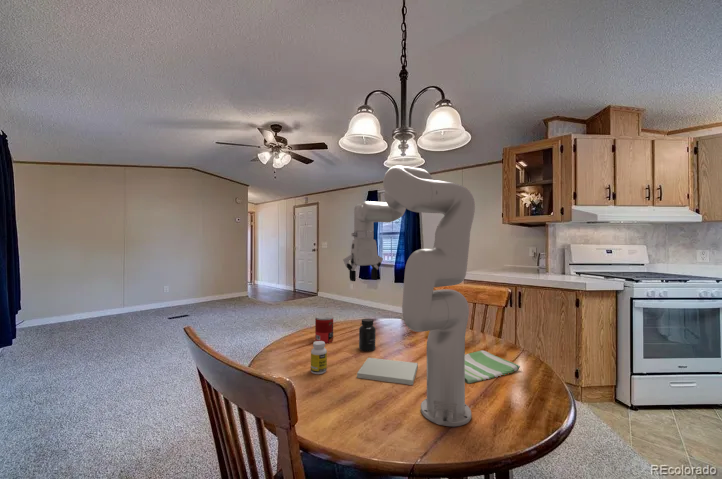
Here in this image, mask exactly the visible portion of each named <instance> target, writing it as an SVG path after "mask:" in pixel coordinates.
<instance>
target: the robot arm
mask: <svg viewBox="0 0 722 479" xmlns="http://www.w3.org/2000/svg"><path fill="white" fill-rule="evenodd" d="M382 186H383V188H384V194H383V196H384V201H385V202H384V201H371V200H370V201H369V200H366V201H362V202H361V203H358V204H356V205H354V207H353V208H354V209H353V211H354V212H353V213H354V216H353V218H354V219H353V230H354V231H353V232H352V233H351V237H353V239H352V242H351V248H350V254H349V255H347V256H346V257H345V258H343V259H342V260H343V262H344V265H345V267H346V268H347V269H348V271H349V280H350V282H356V281H357V278H356V277H357V276H356V275H357V274H356V272H357V271H356V268H357V267H358V266H360V267H363V266H370V267H371V268H372V269H371V270H370V277H371V278H370V279H371V280H374V281H375V280H376V281H377V280H378V270H379V269H380V266H382V262H383V260H384V258H383V257H381V256H380V255H378V247H377V240H376V239H374V235H375V234H374V233H375V232H374V227H375V226H374V223H392V222H395V221H396V220H398V219H400V218H402V217H403V216H404V214H405V212H406V210H408V211H411V212H414V213H422V214H423V213H425V214H442V215H443V217H442V218H441V219H440V221H439V222H438V224H437V226H436V229H435V232H434V241H433V242H434V243H433V247H432V248H419V249H417V250H415V251H413V252H412V253H411V254H410V255H409V257H408V259H407V261H406V264H405V267H404V268H405V269H404V276H403V277H404V279H403V291H402V292H403V293H402V303H401V304H402V306H401V308H402V309H401V311H402V318H403V321H404V323H405V325H406V326H407V328H408V329H410V330H411V331H413V332H417V333H419V332H420V333H422V332H428V335H427V339H426V398H425V399H424V400H422V402H421V403H420V412H421V414H422V416H424V418H426V419H427V420H428V421H430V422H432V423H434V424H437V425H439V426H446V427H462V426H464V425H466V424H468V423H469V422H470V421H471V419H472V410H471V408H470V407H469V406H468V405H467V404H466V403H465V402H466V393H465V392H466V385H465V384H466V382H465V355H466V352H465V351H466V349H465V348H466V331H467V325H468V321H469V315H470V313H469V312H470V308H469V307H470V306H469V302H468V300H467V298H466V297H465V296H464V295H463V294H462V293H461V292H459V291H457V290H454V289H434V288H440V287H451V286H455V285H460V284H461V283H463V282H464V280H465V278H466V275H467V269H468V259H469V252H470V250H469V249H470V241H471V240H470V239H471V230H472V226H473V221H474V216H475V213H476V212H475V211H476V203H475V199H474V196H473V194H472V192H471V191H470V190H469V189H468V188H467V187H465V186H464V185H462V184H459V183H455V182H452V181H451V182H450V181H444V180H436V179H435V180H434V179H433V177H432V175H431V174H430V172H428V171H427V170H426V169H424V168H419V167H412V166H405V165H394V166H391V167H390V168H389V169H388V170H387V171H386V172H385V174H384V177H383V182H382ZM349 261H350V262H349Z"/></svg>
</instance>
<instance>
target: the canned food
mask: <svg viewBox="0 0 722 479" xmlns="http://www.w3.org/2000/svg"><path fill="white" fill-rule="evenodd" d="M314 339H315V340H314V341H324V342H325V345H327V343H328V344H331V343H332V342H333V341H334V316H333V315H332V314H319V315H316V316H315V338H314Z"/></svg>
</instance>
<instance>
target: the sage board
mask: <svg viewBox="0 0 722 479" xmlns="http://www.w3.org/2000/svg"><path fill="white" fill-rule="evenodd" d="M418 368H419V366H418V362H411V361H402V360H394V359H382V358H377V357H376V358H375V357H367V358H366V360H365V361H364V363H363V364H362V365H361V367H360V368H359V369H358V371H357V372H356V379H357V378H358V379H365V380H372V381H378V382H388V383H393V384H394V383H395V384H403V385H410V386H414V381H415V378H416V374H417V370H418Z"/></svg>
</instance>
